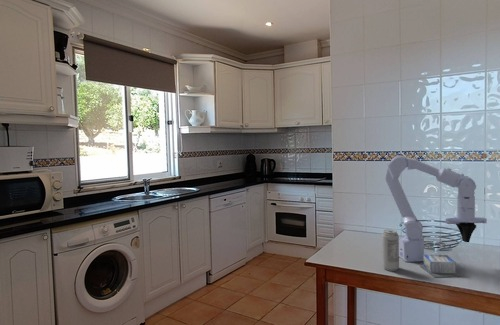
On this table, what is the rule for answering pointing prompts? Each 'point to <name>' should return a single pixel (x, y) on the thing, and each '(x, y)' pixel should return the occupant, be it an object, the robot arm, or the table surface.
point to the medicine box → (439, 264)
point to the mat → (438, 275)
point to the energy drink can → (390, 250)
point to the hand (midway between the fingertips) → (465, 241)
